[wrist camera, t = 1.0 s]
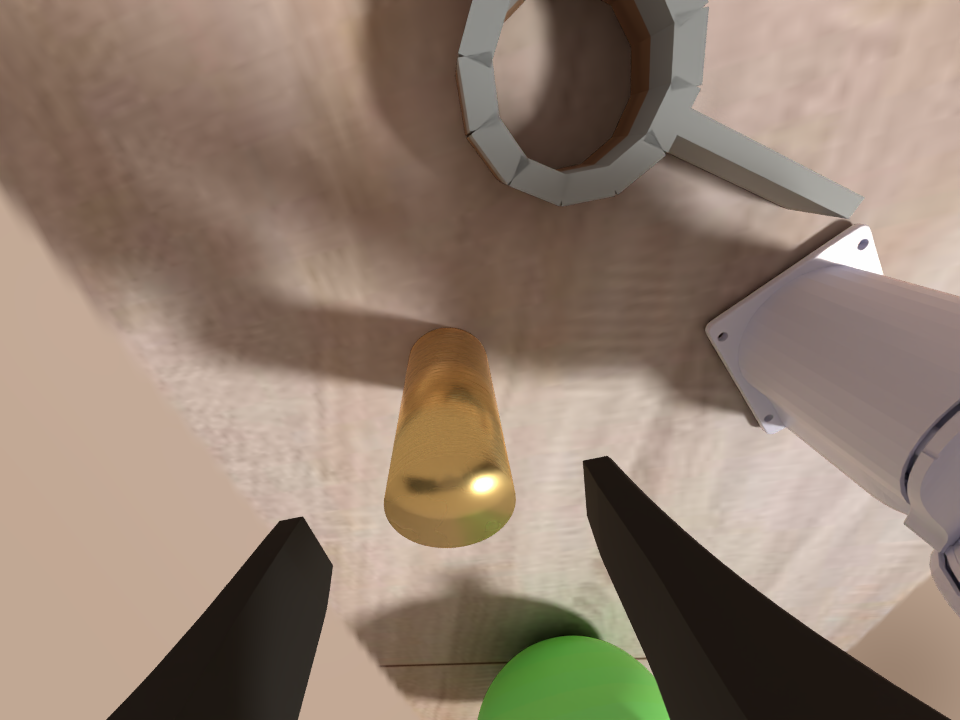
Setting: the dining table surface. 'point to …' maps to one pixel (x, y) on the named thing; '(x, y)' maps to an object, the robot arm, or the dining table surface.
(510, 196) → the dining table surface
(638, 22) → the walnut hinge leaf
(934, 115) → the dining table surface
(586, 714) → the green rounded blob
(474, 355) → the brass hinge pin
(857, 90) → the dining table surface
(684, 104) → the slate hinge leaf
